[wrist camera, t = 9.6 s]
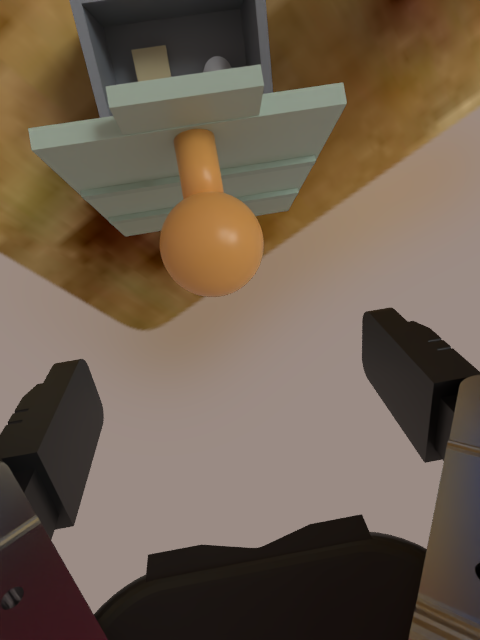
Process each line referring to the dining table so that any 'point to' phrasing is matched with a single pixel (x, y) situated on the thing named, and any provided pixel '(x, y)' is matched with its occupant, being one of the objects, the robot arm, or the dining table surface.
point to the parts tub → (169, 40)
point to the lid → (196, 165)
